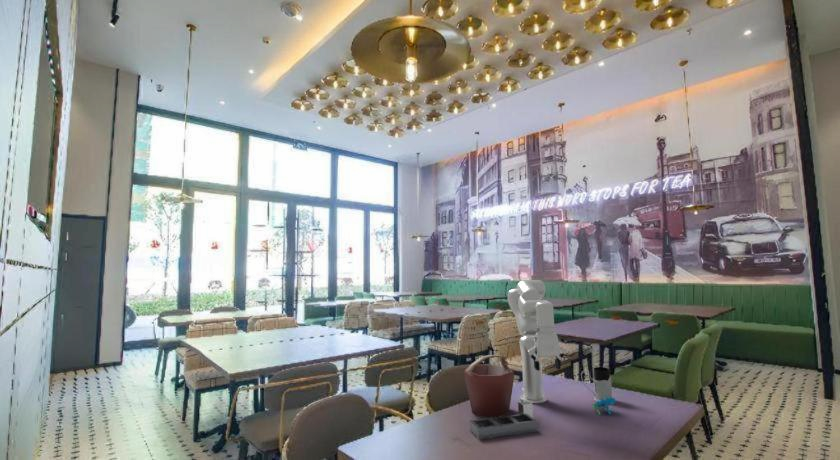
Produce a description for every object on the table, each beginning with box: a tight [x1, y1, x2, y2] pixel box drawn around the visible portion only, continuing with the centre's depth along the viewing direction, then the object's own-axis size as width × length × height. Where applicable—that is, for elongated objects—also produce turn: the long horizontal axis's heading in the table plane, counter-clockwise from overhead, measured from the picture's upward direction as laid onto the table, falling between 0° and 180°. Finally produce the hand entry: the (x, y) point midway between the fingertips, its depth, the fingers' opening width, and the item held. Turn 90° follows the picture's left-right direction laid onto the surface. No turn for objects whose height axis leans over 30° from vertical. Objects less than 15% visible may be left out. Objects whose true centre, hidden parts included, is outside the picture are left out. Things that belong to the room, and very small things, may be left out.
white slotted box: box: [517, 400, 534, 418], centre depth 172 cm, size 4×4×7 cm
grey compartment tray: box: [469, 413, 539, 440], centre depth 160 cm, size 26×9×4 cm, turn 105°
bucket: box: [463, 354, 515, 418], centre depth 184 cm, size 24×22×25 cm
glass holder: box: [580, 366, 613, 402], centre depth 196 cm, size 9×14×15 cm, turn 74°
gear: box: [591, 396, 616, 415], centre depth 177 cm, size 11×6×10 cm
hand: (547, 369), depth 174 cm, fingers open, 9 cm apart
